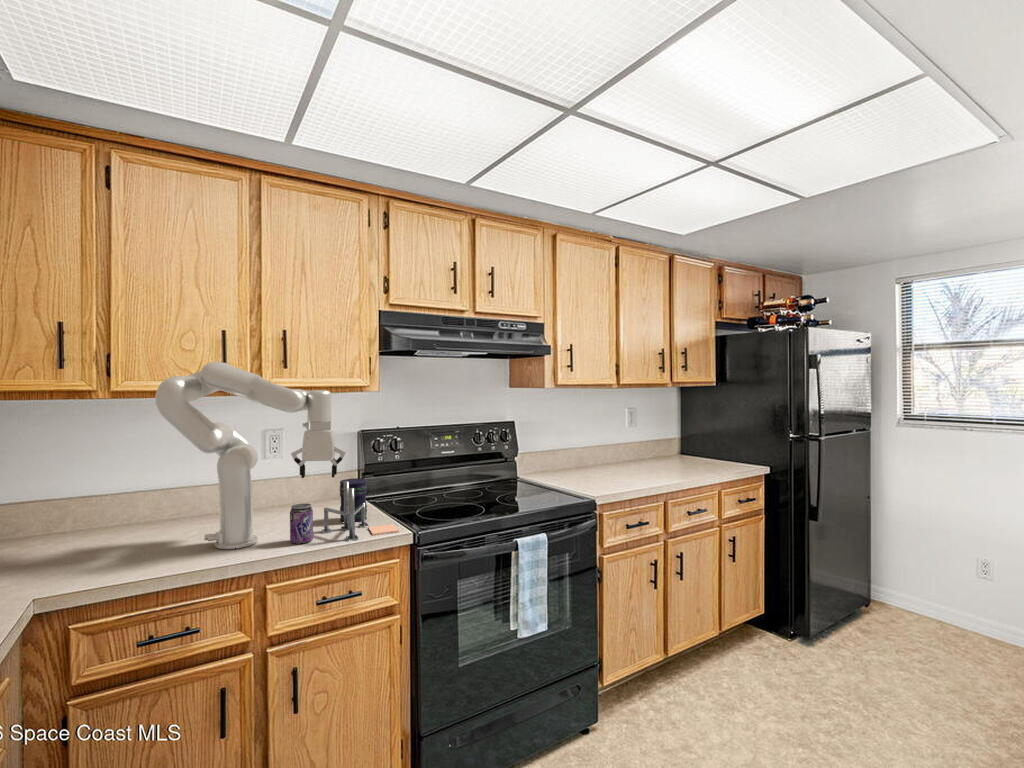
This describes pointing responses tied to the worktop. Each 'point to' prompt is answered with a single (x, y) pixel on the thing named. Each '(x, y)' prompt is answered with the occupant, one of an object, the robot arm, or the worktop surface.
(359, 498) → the dark purple cylinder
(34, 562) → the worktop surface
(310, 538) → the beverage can
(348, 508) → the grey open angular frame
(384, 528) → the plate
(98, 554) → the worktop surface
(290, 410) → the robot arm
